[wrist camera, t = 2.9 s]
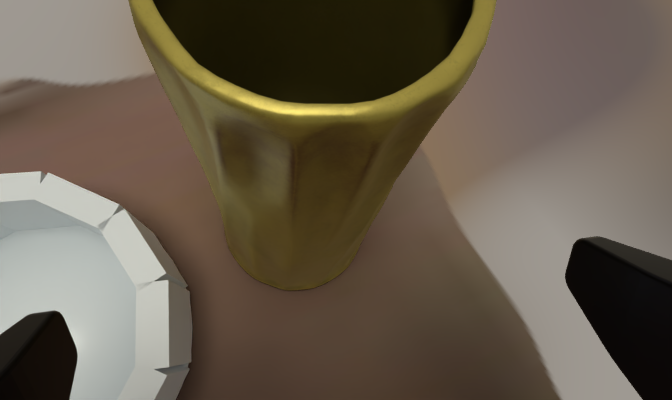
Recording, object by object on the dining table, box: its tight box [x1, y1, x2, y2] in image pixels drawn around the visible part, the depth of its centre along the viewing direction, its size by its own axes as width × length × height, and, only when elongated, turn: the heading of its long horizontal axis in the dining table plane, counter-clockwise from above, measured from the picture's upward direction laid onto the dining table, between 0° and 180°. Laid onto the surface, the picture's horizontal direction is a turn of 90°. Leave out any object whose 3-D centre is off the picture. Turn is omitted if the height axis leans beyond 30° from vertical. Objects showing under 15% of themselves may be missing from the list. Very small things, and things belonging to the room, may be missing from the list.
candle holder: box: [0, 171, 193, 400], centre depth 15 cm, size 11×11×4 cm
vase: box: [129, 0, 497, 290], centre depth 13 cm, size 6×6×14 cm
